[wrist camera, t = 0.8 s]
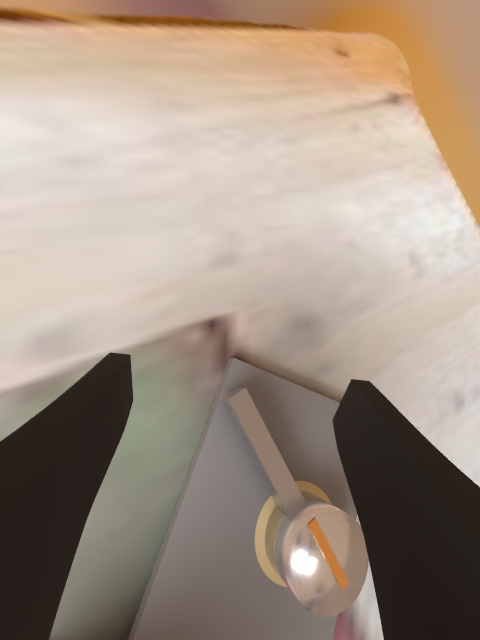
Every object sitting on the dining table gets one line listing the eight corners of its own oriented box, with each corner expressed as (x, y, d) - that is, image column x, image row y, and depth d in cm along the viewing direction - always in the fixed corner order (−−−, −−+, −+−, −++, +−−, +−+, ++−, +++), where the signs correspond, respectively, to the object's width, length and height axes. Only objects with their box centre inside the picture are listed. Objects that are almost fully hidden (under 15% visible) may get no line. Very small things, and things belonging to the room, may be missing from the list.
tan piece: (344, 540, 23) (383, 569, 19) (289, 599, 21) (322, 643, 17) (256, 372, 23) (280, 371, 19) (191, 413, 21) (205, 419, 17)
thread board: (308, 696, 21) (319, 715, 20) (114, 676, 18) (113, 698, 17) (364, 416, 28) (375, 417, 26) (228, 358, 24) (234, 357, 23)
